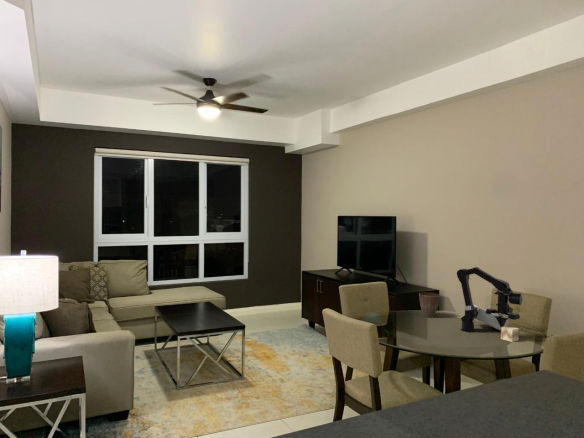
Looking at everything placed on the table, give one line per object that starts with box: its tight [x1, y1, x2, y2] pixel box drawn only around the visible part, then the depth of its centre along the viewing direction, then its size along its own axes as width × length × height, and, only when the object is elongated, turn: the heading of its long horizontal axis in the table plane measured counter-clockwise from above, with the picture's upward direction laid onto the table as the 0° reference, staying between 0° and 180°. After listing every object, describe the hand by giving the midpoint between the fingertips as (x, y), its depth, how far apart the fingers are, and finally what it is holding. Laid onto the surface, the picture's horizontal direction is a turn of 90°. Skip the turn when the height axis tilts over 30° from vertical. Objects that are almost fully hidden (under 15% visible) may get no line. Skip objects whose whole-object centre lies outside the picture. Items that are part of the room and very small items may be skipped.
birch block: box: [500, 325, 520, 343], centre depth 269 cm, size 7×7×7 cm
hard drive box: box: [473, 304, 510, 332], centre depth 293 cm, size 16×8×20 cm
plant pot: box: [418, 292, 441, 319], centre depth 323 cm, size 15×15×16 cm
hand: (501, 327), depth 273 cm, fingers closed
